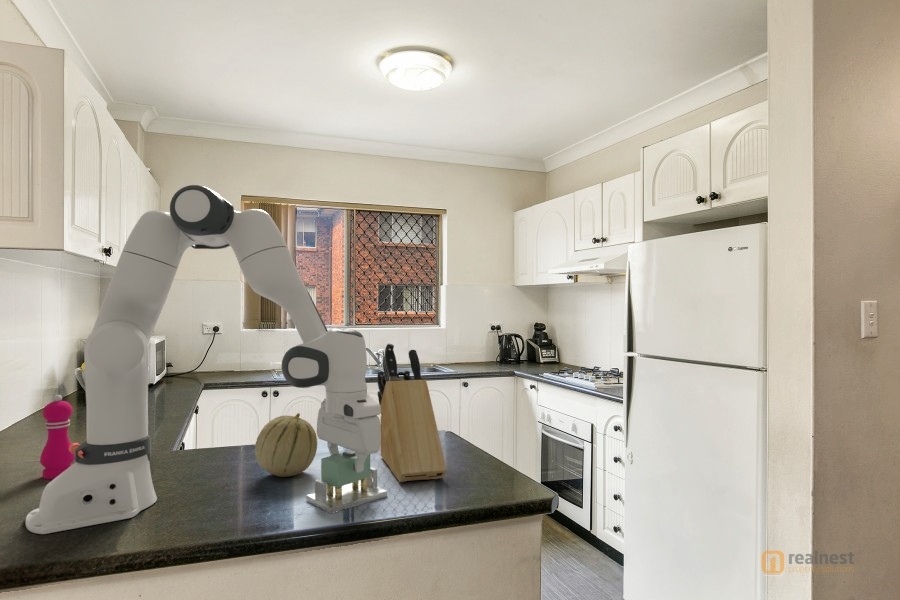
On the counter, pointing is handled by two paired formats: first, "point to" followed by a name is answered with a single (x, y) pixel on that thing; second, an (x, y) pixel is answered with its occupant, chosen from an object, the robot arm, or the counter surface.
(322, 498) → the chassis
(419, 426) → the knife block
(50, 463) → the pepper mill
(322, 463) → the green box
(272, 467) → the cantaloupe
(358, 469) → the robot arm
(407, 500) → the counter surface
